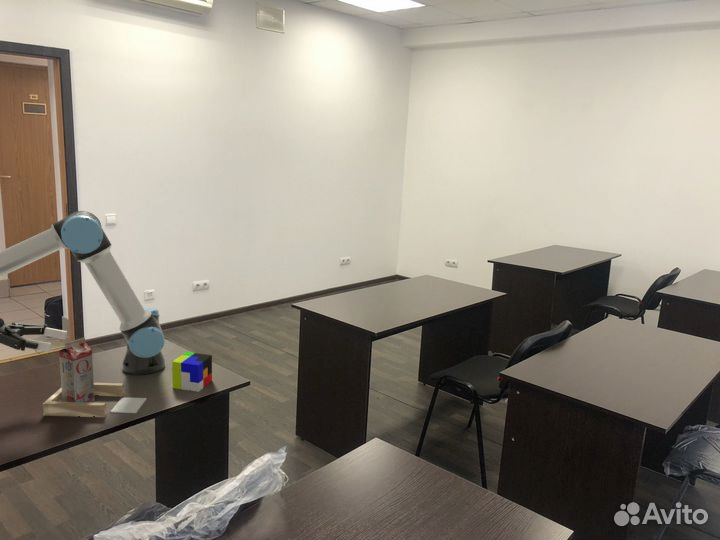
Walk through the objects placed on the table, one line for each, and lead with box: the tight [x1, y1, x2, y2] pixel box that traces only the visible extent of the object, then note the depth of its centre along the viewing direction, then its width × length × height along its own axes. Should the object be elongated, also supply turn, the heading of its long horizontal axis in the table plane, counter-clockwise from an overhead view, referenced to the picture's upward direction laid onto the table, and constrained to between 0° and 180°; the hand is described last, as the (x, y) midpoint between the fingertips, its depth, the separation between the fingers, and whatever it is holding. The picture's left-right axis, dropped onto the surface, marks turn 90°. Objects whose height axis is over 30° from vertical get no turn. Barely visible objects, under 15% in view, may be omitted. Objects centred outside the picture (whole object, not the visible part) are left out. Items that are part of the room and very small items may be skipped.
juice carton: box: [58, 337, 96, 403], centre depth 173 cm, size 7×7×22 cm
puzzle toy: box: [171, 351, 213, 393], centre depth 194 cm, size 10×10×10 cm
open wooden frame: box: [42, 382, 125, 418], centre depth 175 cm, size 16×18×4 cm
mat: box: [109, 396, 147, 414], centre depth 176 cm, size 10×8×1 cm
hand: (58, 341), depth 172 cm, fingers open, 13 cm apart
